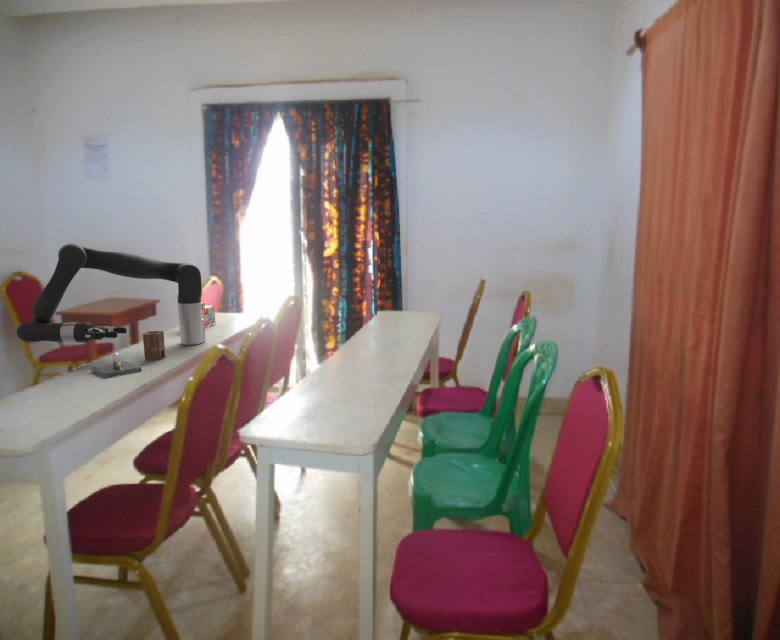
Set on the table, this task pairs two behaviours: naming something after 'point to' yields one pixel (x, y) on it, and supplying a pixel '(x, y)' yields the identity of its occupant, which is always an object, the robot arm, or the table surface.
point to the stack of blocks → (208, 314)
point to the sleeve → (154, 345)
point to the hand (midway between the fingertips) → (121, 332)
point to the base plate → (116, 368)
